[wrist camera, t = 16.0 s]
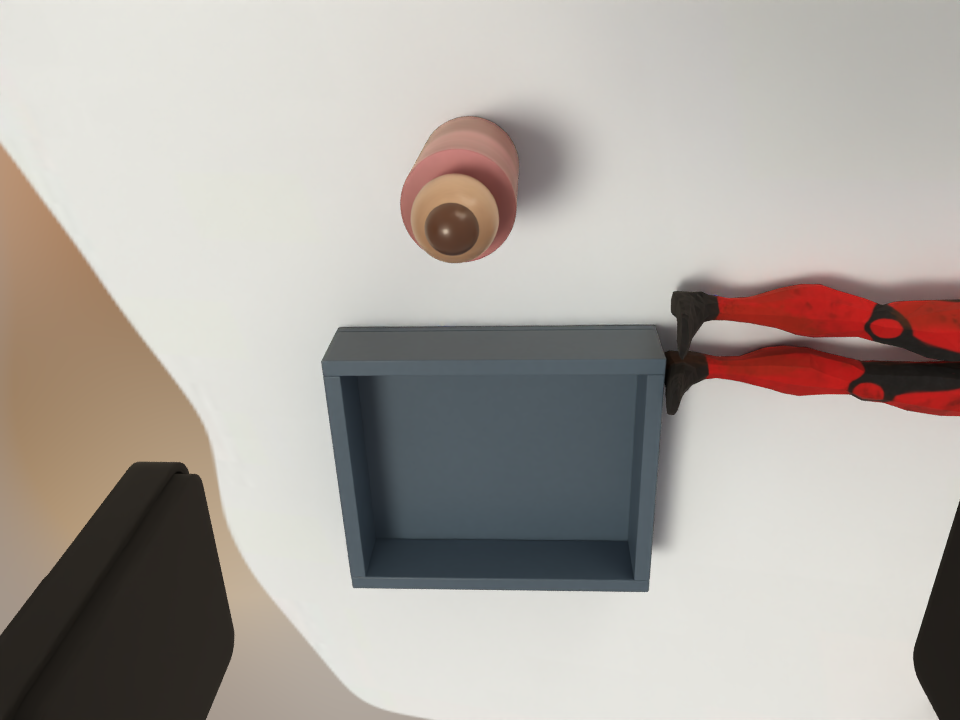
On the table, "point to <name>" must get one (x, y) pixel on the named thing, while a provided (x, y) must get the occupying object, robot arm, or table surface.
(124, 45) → the table surface
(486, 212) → the peg doll
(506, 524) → the tray
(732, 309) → the action figure
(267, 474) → the table surface
